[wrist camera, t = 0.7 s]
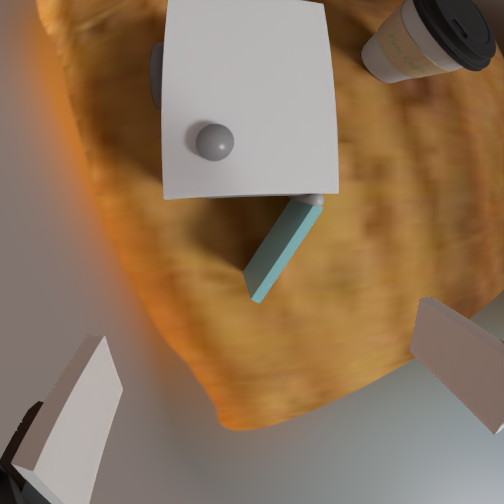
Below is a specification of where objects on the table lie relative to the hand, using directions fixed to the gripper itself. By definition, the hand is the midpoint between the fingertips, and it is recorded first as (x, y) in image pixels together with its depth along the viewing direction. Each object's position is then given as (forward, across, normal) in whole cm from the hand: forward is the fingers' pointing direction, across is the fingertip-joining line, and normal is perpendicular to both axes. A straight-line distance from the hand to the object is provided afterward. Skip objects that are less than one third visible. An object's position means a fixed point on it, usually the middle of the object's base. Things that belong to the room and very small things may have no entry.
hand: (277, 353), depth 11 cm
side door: (+19, +4, +1) cm, 19 cm away
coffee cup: (+19, +18, +21) cm, 34 cm away
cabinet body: (+19, +1, +13) cm, 23 cm away
